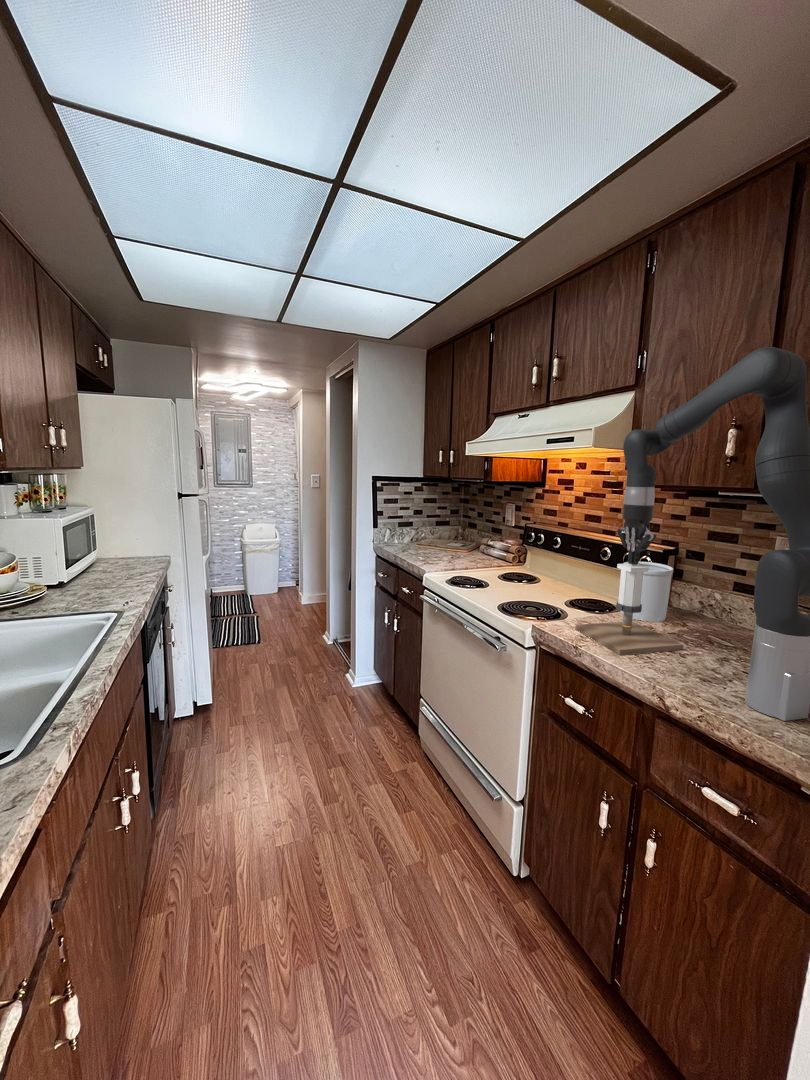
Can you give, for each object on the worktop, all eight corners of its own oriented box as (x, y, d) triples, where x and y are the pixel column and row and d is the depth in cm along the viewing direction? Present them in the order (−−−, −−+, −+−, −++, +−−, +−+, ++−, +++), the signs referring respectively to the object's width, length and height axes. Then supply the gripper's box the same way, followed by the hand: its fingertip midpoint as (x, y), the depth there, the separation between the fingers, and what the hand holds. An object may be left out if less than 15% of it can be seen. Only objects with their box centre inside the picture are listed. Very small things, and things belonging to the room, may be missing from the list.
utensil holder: (673, 625, 143) (679, 571, 140) (623, 620, 147) (627, 568, 144) (661, 611, 157) (666, 563, 155) (615, 607, 161) (619, 560, 159)
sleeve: (644, 606, 127) (648, 567, 125) (627, 607, 125) (631, 568, 124) (630, 600, 132) (634, 563, 130) (614, 601, 131) (617, 563, 129)
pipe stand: (682, 649, 123) (688, 600, 121) (619, 655, 118) (623, 604, 116) (631, 625, 142) (635, 582, 140) (575, 629, 138) (578, 585, 136)
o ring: (646, 612, 126) (646, 606, 126) (626, 613, 125) (627, 607, 125) (630, 605, 133) (630, 600, 132) (611, 606, 131) (612, 601, 131)
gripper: (668, 505, 119) (662, 568, 121) (633, 501, 131) (628, 559, 134) (644, 505, 117) (638, 569, 120) (611, 501, 130) (606, 560, 132)
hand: (632, 564), depth 127 cm, fingers closed
